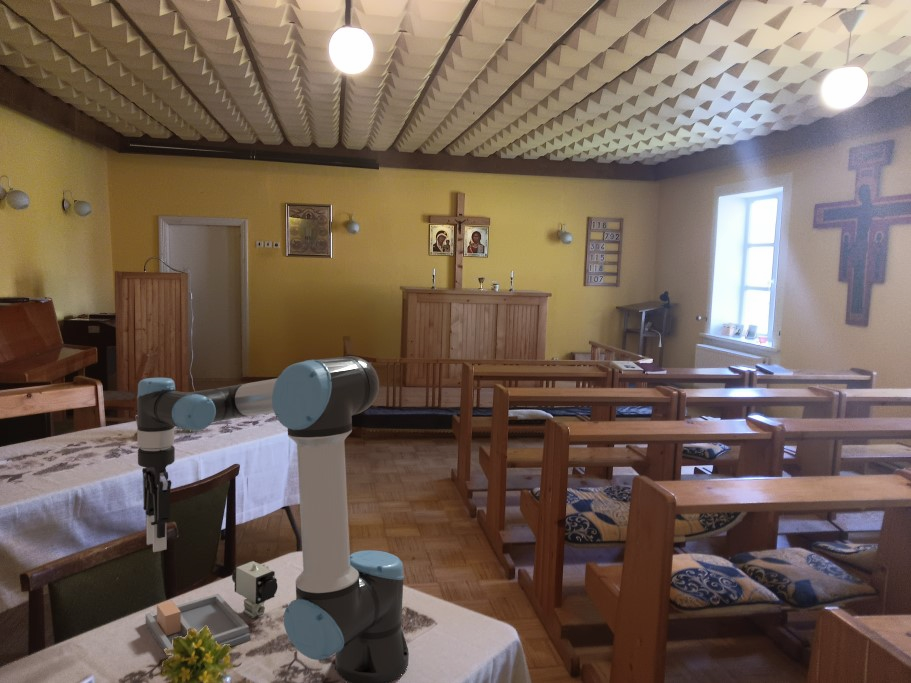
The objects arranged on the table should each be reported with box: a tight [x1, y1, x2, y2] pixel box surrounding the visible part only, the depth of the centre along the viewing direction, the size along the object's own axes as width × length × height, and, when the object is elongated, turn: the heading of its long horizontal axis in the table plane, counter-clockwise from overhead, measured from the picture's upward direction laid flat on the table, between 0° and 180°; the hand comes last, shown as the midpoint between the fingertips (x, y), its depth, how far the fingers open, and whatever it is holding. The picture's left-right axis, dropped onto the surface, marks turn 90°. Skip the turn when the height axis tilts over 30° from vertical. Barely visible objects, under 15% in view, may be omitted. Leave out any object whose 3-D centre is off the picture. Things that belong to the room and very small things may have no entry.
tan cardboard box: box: [156, 600, 181, 636], centre depth 138 cm, size 6×3×4 cm, turn 41°
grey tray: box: [145, 593, 251, 658], centre depth 139 cm, size 20×16×4 cm
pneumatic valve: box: [231, 559, 278, 619], centre depth 147 cm, size 6×12×12 cm, turn 53°
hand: (156, 546), depth 143 cm, fingers open, 4 cm apart
